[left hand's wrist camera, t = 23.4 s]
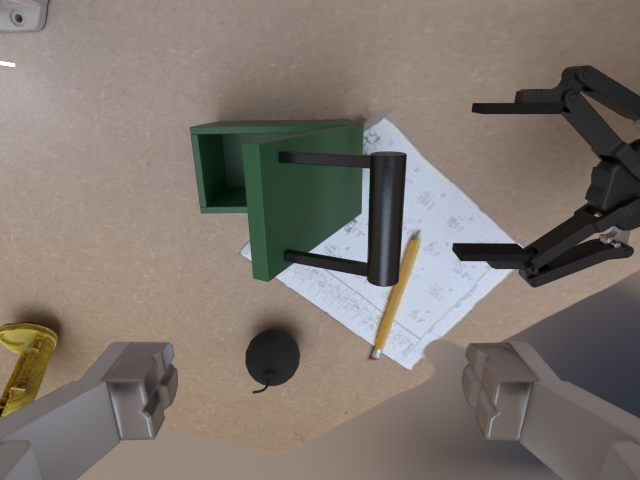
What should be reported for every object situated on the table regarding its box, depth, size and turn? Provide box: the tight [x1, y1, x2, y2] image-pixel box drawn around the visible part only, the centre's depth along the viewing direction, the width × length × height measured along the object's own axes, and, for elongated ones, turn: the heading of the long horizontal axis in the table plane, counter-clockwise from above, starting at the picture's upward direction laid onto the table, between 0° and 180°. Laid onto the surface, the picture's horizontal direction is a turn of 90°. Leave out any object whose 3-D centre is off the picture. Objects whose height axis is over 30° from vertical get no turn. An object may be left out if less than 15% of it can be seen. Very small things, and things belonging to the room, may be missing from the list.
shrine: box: [0, 322, 59, 419], centre depth 52 cm, size 12×8×15 cm
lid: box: [242, 125, 407, 287], centre depth 30 cm, size 18×9×9 cm
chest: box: [190, 119, 357, 213], centre depth 45 cm, size 17×9×11 cm, turn 91°
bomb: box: [245, 329, 300, 393], centre depth 54 cm, size 8×8×12 cm
